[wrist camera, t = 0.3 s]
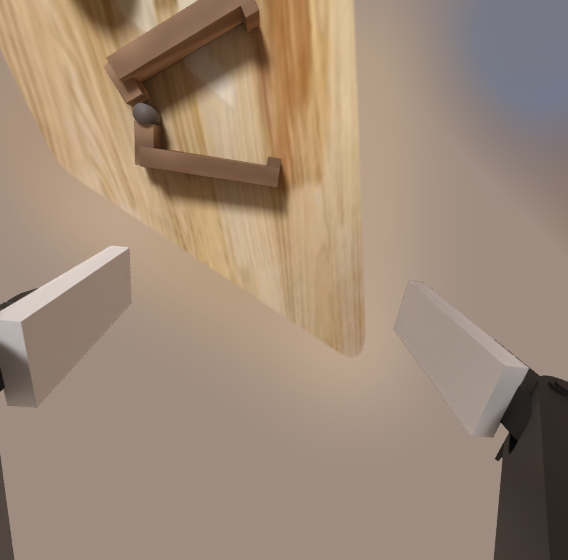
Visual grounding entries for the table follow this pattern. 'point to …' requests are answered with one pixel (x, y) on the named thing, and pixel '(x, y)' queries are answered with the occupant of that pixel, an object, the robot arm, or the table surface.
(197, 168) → the brown l-shaped wooden bar
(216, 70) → the table surface
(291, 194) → the table surface
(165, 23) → the bracket
